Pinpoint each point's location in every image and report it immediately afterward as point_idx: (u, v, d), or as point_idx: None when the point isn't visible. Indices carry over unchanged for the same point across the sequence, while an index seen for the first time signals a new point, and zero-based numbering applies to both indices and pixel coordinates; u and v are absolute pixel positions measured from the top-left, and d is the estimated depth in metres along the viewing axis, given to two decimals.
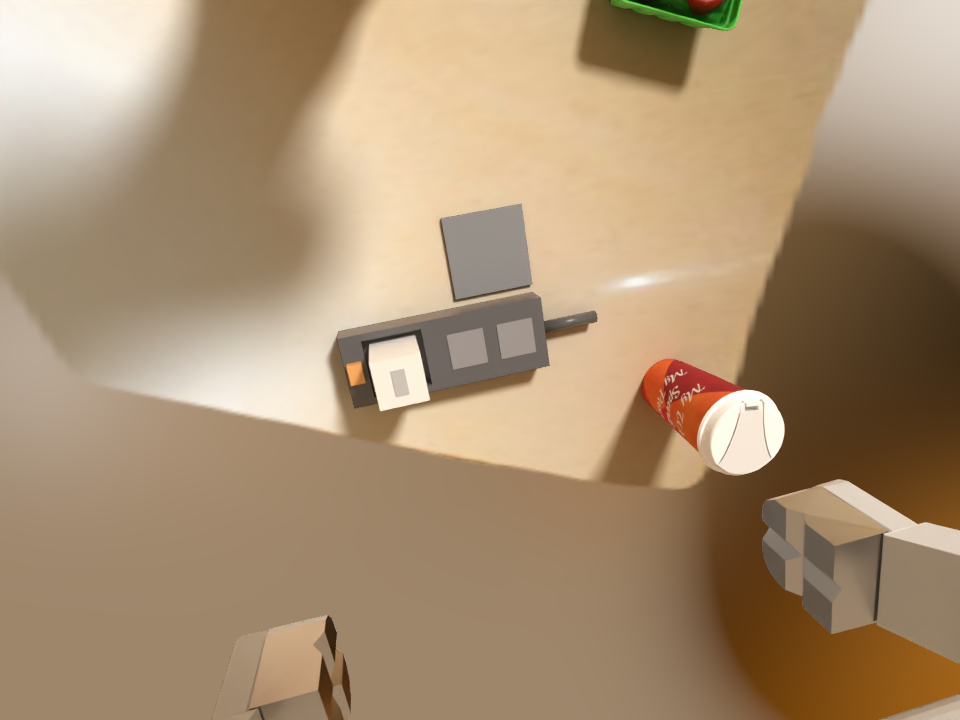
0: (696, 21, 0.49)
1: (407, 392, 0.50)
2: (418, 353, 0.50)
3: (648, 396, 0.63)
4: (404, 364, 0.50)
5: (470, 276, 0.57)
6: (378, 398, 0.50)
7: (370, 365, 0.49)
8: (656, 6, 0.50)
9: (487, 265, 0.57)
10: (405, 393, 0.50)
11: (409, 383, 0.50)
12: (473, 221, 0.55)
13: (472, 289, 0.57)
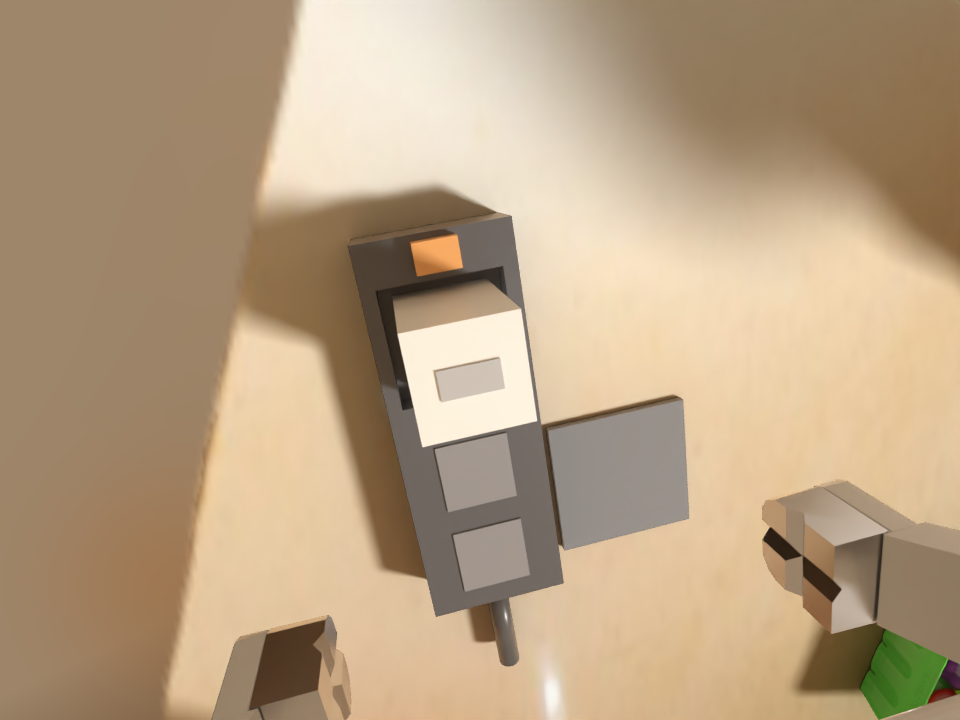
0: None
1: (445, 397, 0.21)
2: (535, 416, 0.22)
3: None
4: (514, 387, 0.21)
5: (585, 453, 0.32)
6: (431, 329, 0.20)
7: (517, 312, 0.20)
8: None
9: (601, 477, 0.33)
10: (442, 391, 0.21)
11: (465, 400, 0.21)
12: (672, 450, 0.33)
13: (562, 457, 0.32)
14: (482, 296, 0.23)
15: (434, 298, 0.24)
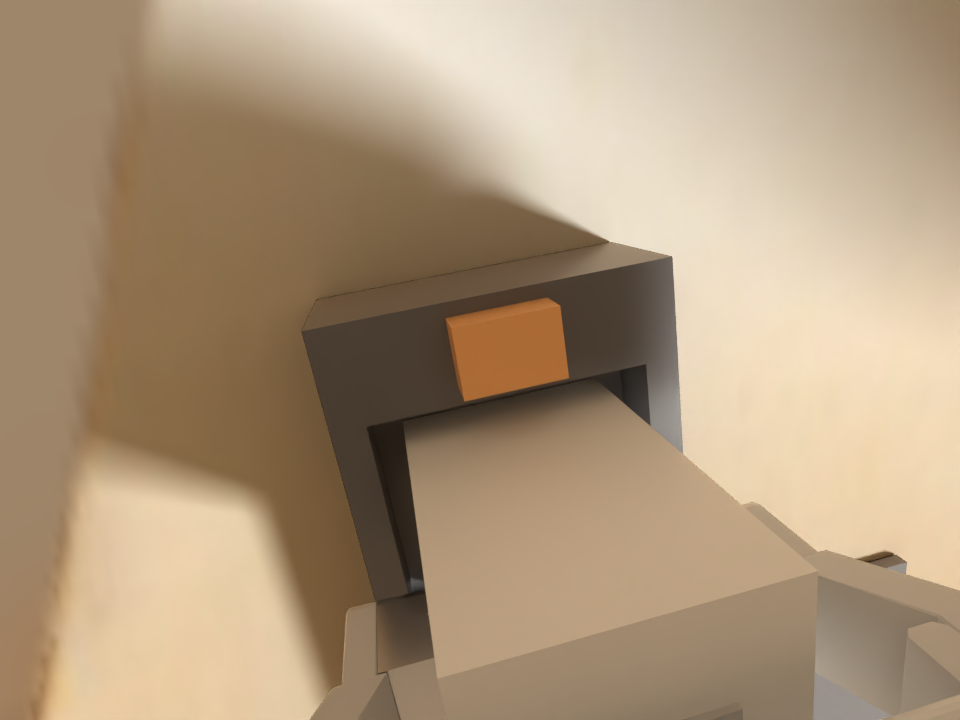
0: None
1: None
2: None
3: None
4: None
5: None
6: (547, 655, 0.06)
7: (805, 581, 0.07)
8: None
9: None
10: None
11: None
12: None
13: None
14: (630, 461, 0.10)
15: (503, 449, 0.11)
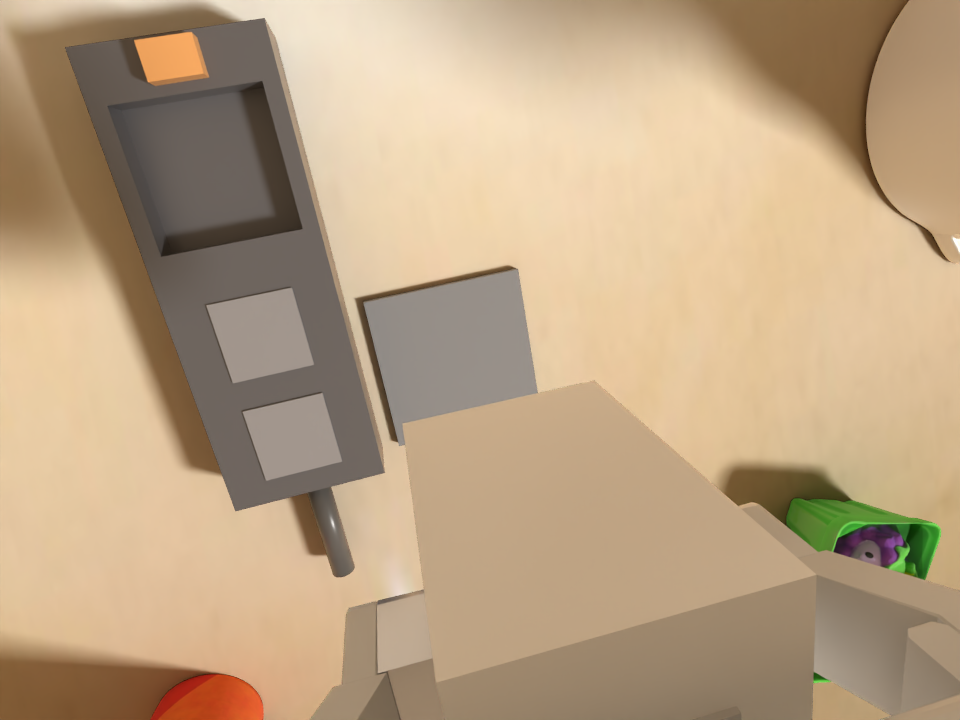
0: None
1: None
2: None
3: (180, 704, 0.31)
4: None
5: (411, 330, 0.29)
6: (546, 659, 0.06)
7: (803, 585, 0.07)
8: None
9: (432, 360, 0.30)
10: None
11: None
12: (512, 328, 0.30)
13: (384, 334, 0.29)
14: (629, 463, 0.10)
15: (503, 451, 0.11)
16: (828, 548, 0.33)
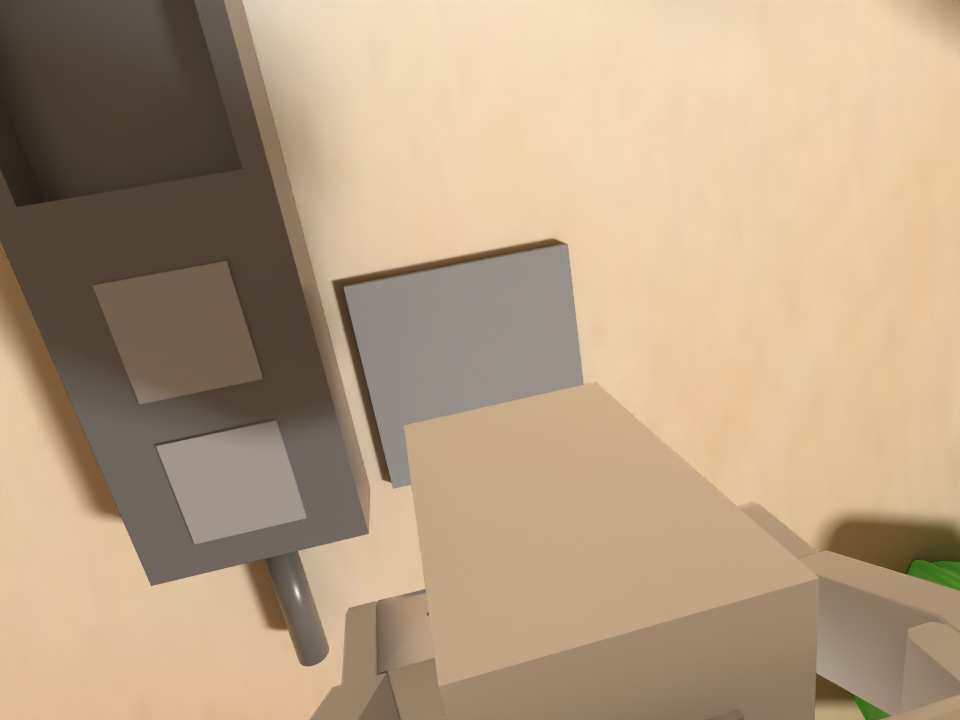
0: None
1: None
2: None
3: None
4: None
5: (412, 328, 0.20)
6: (549, 662, 0.06)
7: (806, 589, 0.07)
8: None
9: (442, 371, 0.21)
10: None
11: None
12: (556, 329, 0.21)
13: (373, 334, 0.20)
14: (631, 466, 0.10)
15: (504, 453, 0.11)
16: None
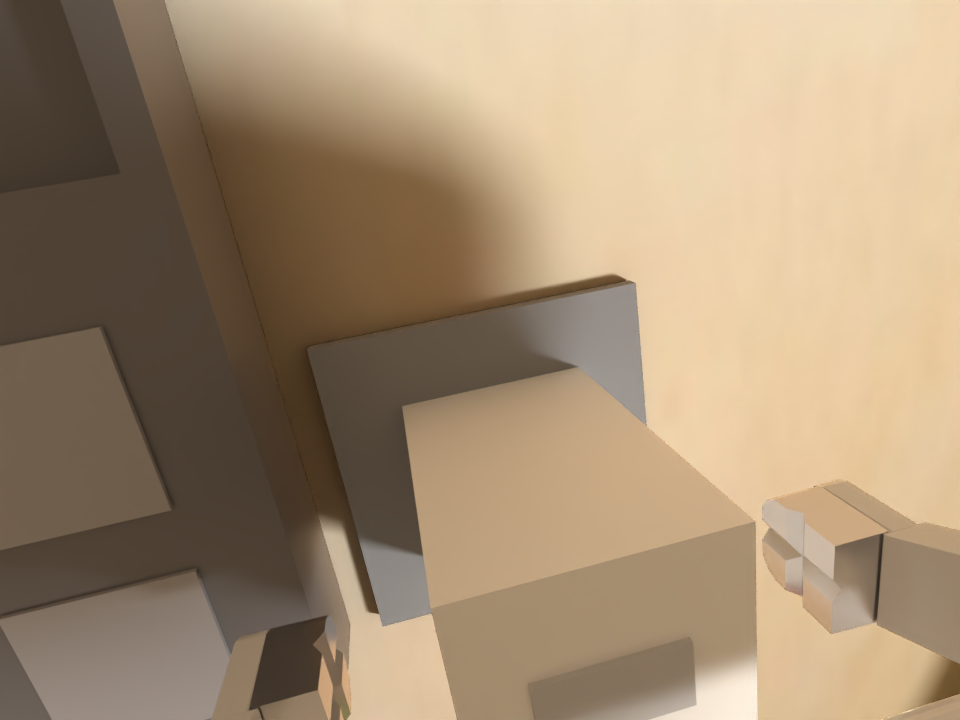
0: None
1: None
2: None
3: None
4: (715, 696, 0.09)
5: None
6: (524, 590, 0.07)
7: (744, 530, 0.08)
8: None
9: None
10: None
11: None
12: None
13: (352, 416, 0.14)
14: (605, 437, 0.11)
15: (493, 428, 0.12)
16: None
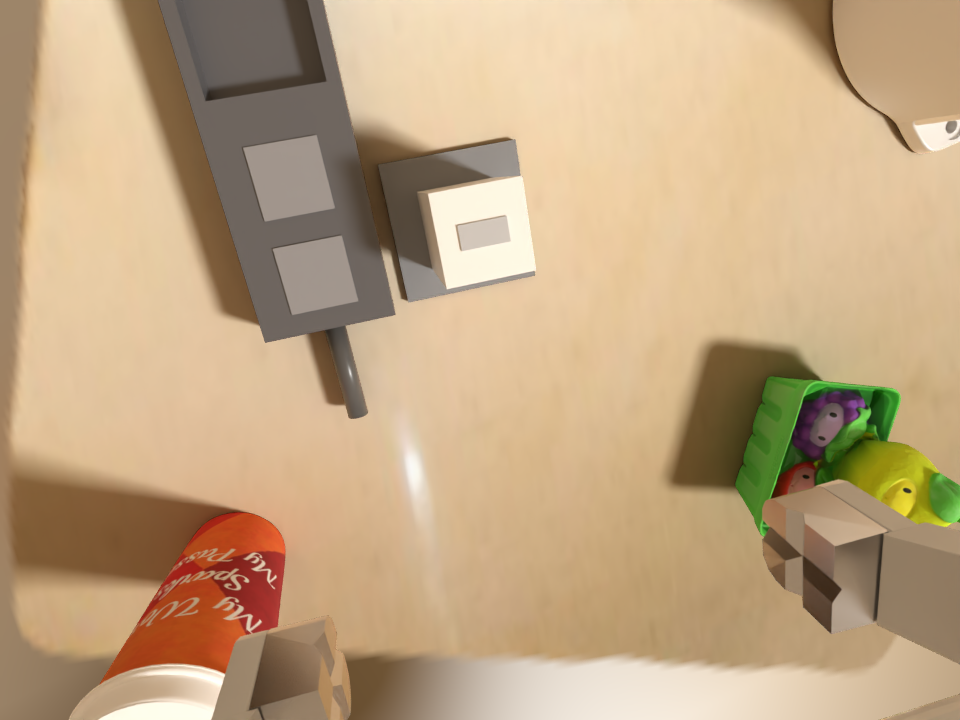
0: (772, 488, 0.38)
1: (464, 247, 0.27)
2: (534, 267, 0.28)
3: (213, 529, 0.35)
4: (517, 241, 0.27)
5: None
6: (454, 191, 0.26)
7: (519, 178, 0.27)
8: None
9: None
10: (462, 243, 0.27)
11: (480, 251, 0.27)
12: None
13: (396, 195, 0.32)
14: (491, 179, 0.29)
15: (452, 186, 0.31)
16: (795, 407, 0.37)
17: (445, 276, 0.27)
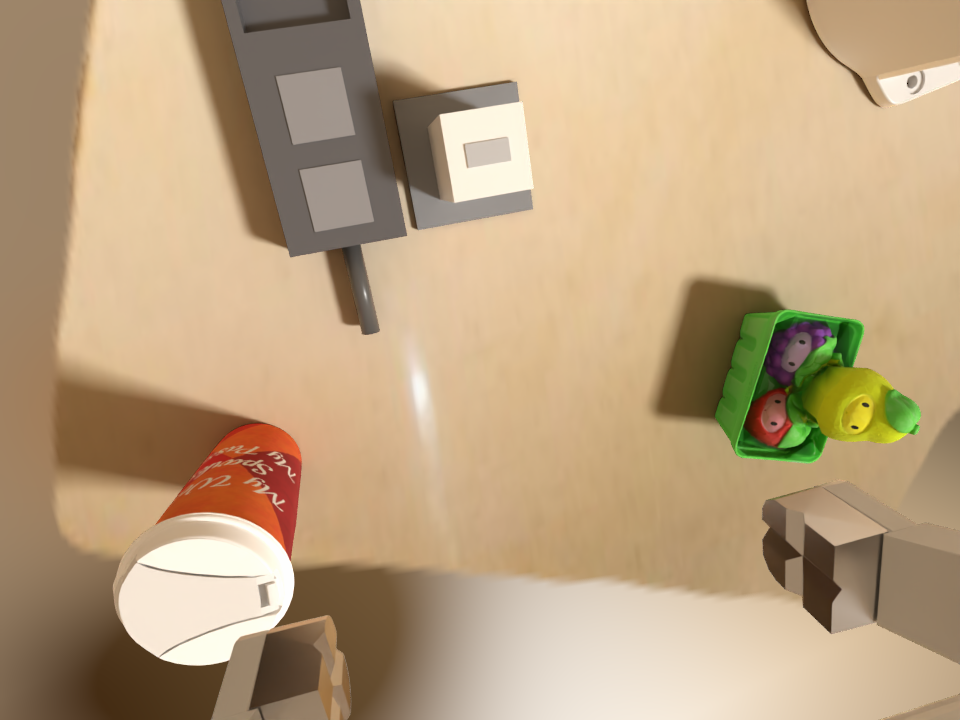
0: (747, 410, 0.41)
1: (470, 165, 0.31)
2: (532, 185, 0.32)
3: (238, 433, 0.38)
4: (517, 161, 0.31)
5: None
6: (462, 113, 0.30)
7: (519, 103, 0.30)
8: None
9: None
10: (468, 160, 0.31)
11: (484, 169, 0.31)
12: None
13: (408, 130, 0.36)
14: None
15: None
16: (768, 334, 0.40)
17: (453, 190, 0.31)
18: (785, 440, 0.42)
